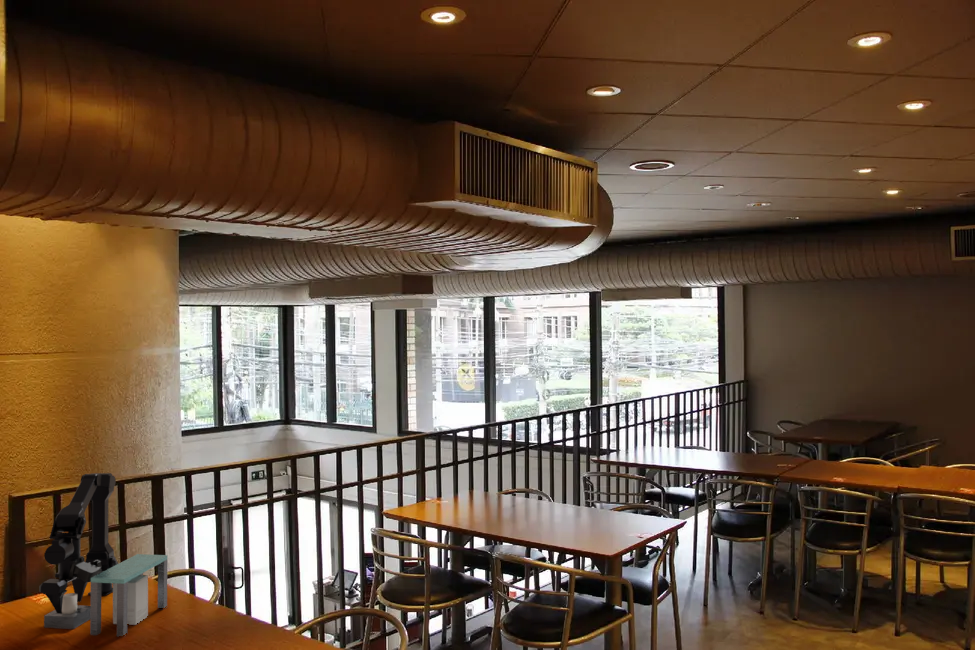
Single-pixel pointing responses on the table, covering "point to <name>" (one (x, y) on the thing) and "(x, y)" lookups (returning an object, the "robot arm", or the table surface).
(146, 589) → the supplement box
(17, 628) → the table surface
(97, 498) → the robot arm
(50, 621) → the socket
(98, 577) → the miniature teal stool
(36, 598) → the table surface
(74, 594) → the peg
